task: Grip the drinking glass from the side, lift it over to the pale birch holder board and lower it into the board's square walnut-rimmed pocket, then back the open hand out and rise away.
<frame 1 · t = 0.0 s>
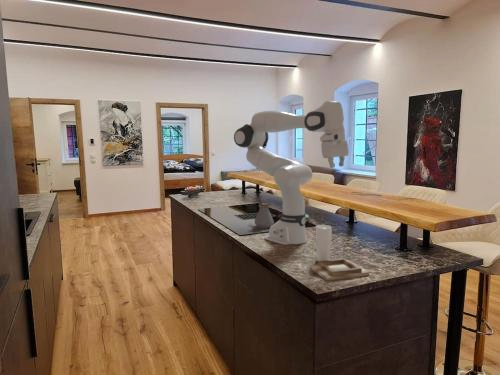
hand: (337, 167, 166), 39 cm above the countertop, tool pointing down, fingers open, 8 cm apart
coffee pot: (262, 225, 220), on the countertop
holder board: (338, 271, 143), on the countertop
donut: (299, 221, 229), on the countertop
drinking glass: (323, 261, 156), on the countertop
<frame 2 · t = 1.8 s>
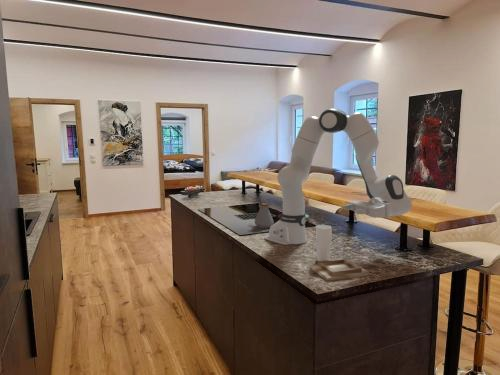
hand: (349, 209, 156), 22 cm above the countertop, tool horizontal, fingers open, 8 cm apart
nothing on the countertop moved.
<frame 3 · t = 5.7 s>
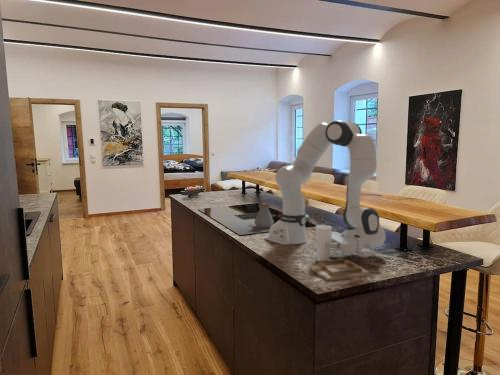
hand: (321, 242, 154), 8 cm above the countertop, tool horizontal, fingers closed on drinking glass, 7 cm apart
drinking glass: (323, 261, 156), on the countertop, touching gripper
everything else where it was.
when the fingers open (10 cm above the countertop, at t = 11.0 s): drinking glass stays where it is, resting on holder board.
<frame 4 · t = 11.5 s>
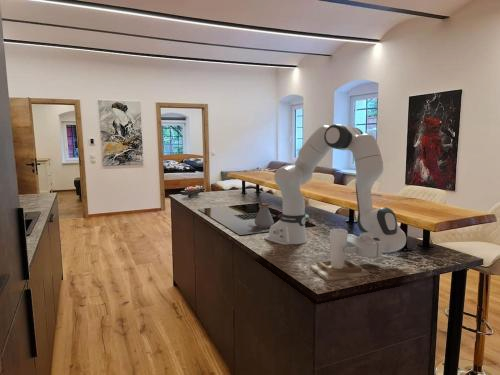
hand: (337, 246, 141), 10 cm above the countertop, tool horizontal, fingers open, 8 cm apart
drinking glass: (337, 267, 144), point 1 cm above the countertop, touching gripper, holder board
everything else where it was.
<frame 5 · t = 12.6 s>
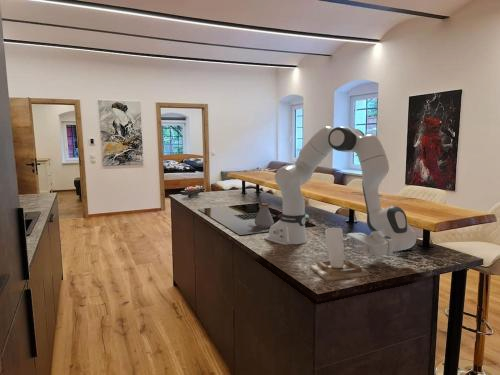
hand: (348, 245, 143), 10 cm above the countertop, tool horizontal, fingers open, 8 cm apart
drinking glass: (337, 267, 144), point 1 cm above the countertop, touching holder board
everything else where it was.
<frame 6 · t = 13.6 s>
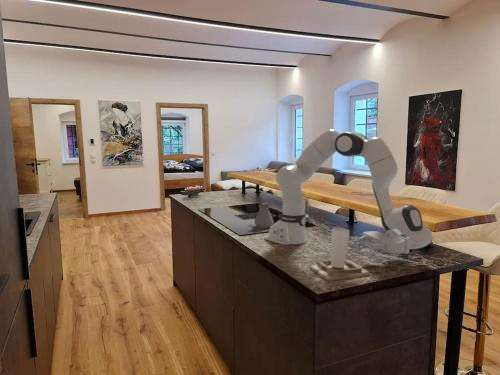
hand: (365, 243, 145), 10 cm above the countertop, tool horizontal, fingers open, 8 cm apart
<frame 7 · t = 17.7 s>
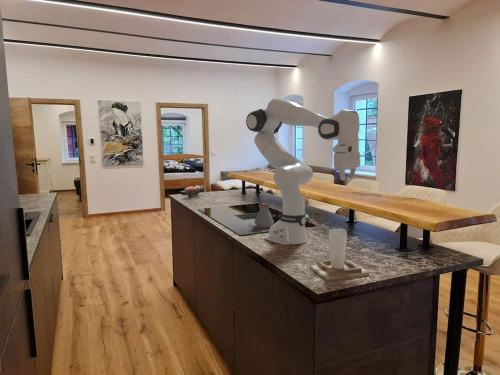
hand: (347, 179, 159), 34 cm above the countertop, tool pointing down, fingers open, 8 cm apart
at the end: drinking glass 1.3 cm off-centre on the holder board, point 1.1 cm above the holder board's base; drinking glass tilted 3°; the gripper is holding nothing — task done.
